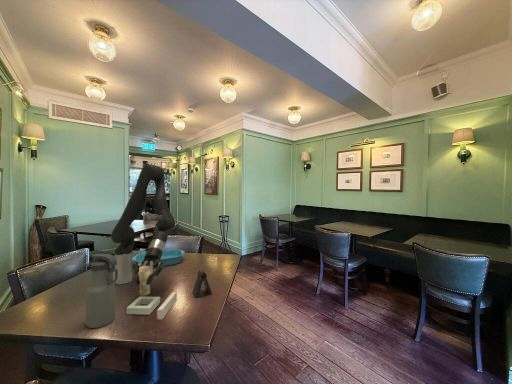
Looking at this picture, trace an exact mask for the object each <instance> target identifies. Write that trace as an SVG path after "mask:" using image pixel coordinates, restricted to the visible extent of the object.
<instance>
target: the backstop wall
mask: <svg viewBox="0 0 512 384" xmlns="http://www.w3.org/2000/svg"><path fill="white" fill-rule="evenodd" d="M177 300H178V295H177V291H173V292H171V294H169V296H168V297H167V298H166V299H165V301H163V303H162V304H161V305H160V306H159V308H157V313H156V314H157V315H156V320H163V318H164V317H165V316H166V315H167V314H168V313H169V311H170V309H171V308H172V307H173V305H174V304H175V303H177Z"/></svg>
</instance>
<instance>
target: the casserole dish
mask: <svg viewBox="0 0 512 384" xmlns="http://www.w3.org/2000/svg"><path fill="white" fill-rule="evenodd" d="M185 253H186V251H185V250H182V249H179V248H177V249H167V250H165V249H164V251H163V254H162V256H161V259H160V262H163V263H164V267H168V266H167V265H169V266H173V264H174V265H177V263H178V264H179V263H180V262H181V261H182V259H183V256H184V254H185ZM145 254H146V252H142V253H141V252H140V253H138V254H136V255H135V256H132V262H135V264H136V262H138V263H140V262H142V261H143V260H144V257H145ZM141 267H142V265H141ZM157 267H158V266H157ZM157 267H156V268H157Z"/></svg>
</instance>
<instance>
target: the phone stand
mask: <svg viewBox="0 0 512 384" xmlns="http://www.w3.org/2000/svg"><path fill="white" fill-rule="evenodd" d="M207 277H208V276H207V273H206V272H205V271H204V270H203V269H201V270H198V272H197V278H196V281H195V283H194V286H193V289H192V295H193V296H194V298H195V299H198V298H203V297H207V296H211V295H213V292H212V289H211V287H210V284H209V282H208V279H207ZM202 284H203V286H204V290H201V288H202Z"/></svg>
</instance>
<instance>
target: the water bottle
mask: <svg viewBox="0 0 512 384" xmlns="http://www.w3.org/2000/svg"><path fill="white" fill-rule="evenodd" d="M91 259H92V263H91V264H90V272H91V283H90V284H91V285H89V286H88V287H87V289H86V293H85V297H86V298H85V299H86V300H85V303H86V305H85V306H86V307H85V317H86V318H85V325H86V327H87V328H89V329H97V328H102V327H105V326H107V325H109V324H110V323H112V322H113V321H114V319H115V317H116V284H115V283H114V282H115V281H116V280H117V278H118V270H117V269H115V265H117V260H116V258H115V255H114V254H110V253H96V254H92V255H91ZM114 271H115V279H114V280H113V279H112V280H111V278H112V274H113V272H114Z"/></svg>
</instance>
